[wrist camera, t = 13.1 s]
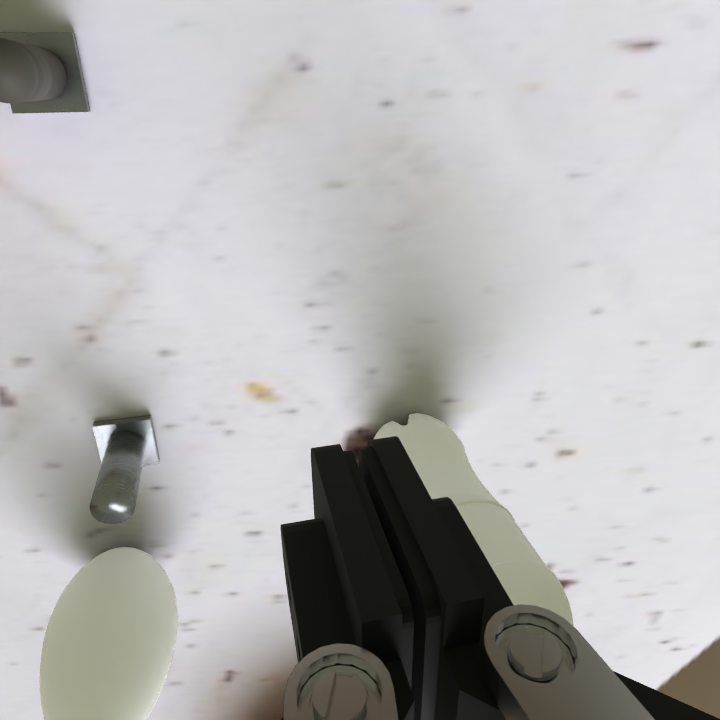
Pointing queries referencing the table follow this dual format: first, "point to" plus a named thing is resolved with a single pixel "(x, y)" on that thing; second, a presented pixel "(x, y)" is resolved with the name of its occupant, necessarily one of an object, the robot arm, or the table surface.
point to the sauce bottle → (109, 640)
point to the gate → (29, 73)
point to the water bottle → (479, 512)
